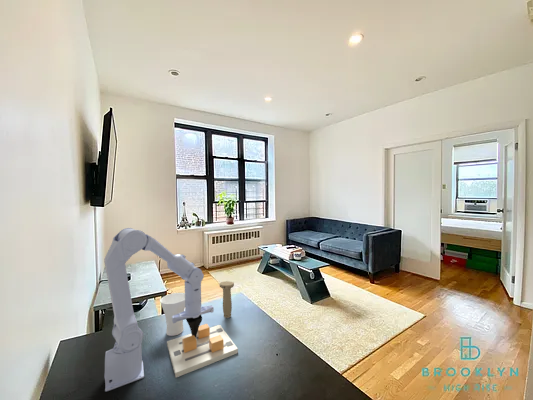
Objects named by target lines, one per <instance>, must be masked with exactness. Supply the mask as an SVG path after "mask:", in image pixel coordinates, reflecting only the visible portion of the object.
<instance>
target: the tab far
mask: <svg viewBox="0 0 533 400" xmlns="http://www.w3.org/2000/svg"><path fill="white" fill-rule="evenodd" d="M210 328H211V327H210V326H209V324H208V323H204V324H200V325H199V328H198V332H197V336H198V338H199V339H200V338H203V337H206V336H209V335H210Z"/></svg>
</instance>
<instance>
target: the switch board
mask: <svg viewBox="0 0 533 400" xmlns="http://www.w3.org/2000/svg"><path fill="white" fill-rule="evenodd" d="M218 335H221V337H222V338H223V343H224V348H223V349H220V350H218V351H215V352H212V351H211V350H210V348H209V338H212V337H215V336H218ZM190 336H192V334H191V333H189V334H185V335H182V336H180V337H176V338H173V339H170V340H167V341H166V346H167V349H168V353H169V358H170V361H171V365H172V369H173V373H174V377H175V378H176V379H177V378H179V377H181V376H184V375H186V374H189V373H191V372H193V371H194V372H195V371H196V370H199V369H201V368H204V367H206V366H207V367H208V366H209V365H211V364H214V363H216V362H218V361H221V360H223V359H227V358H228V357H231V356H233V355H236V354H238V353H239V349H238V347H237V345H236V344H235V343H234V342H233V340H232V339H231V337H230V336H229V335H228V334H227V332H226V330H224V328H223V327H222V325H221V324H218V325H214V326H212V327H210V335H209V336H206V337H203V338H200V339H199V338H198V336H197V337H195V338H196V342H197V349H194V350H191V351H188V352H185V353H184V350H183V345H182V339H184V338H187V337H190Z"/></svg>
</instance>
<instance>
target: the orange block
mask: <svg viewBox="0 0 533 400" xmlns="http://www.w3.org/2000/svg"><path fill="white" fill-rule="evenodd" d="M209 348H210V350H211V351H212V352H215V351H218V350H220V349H223V348H224V343H223V338H222V337H221V335H218V336H215V337H212V338H209Z"/></svg>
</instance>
